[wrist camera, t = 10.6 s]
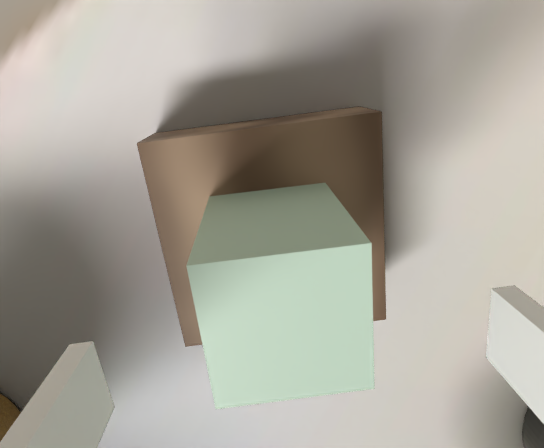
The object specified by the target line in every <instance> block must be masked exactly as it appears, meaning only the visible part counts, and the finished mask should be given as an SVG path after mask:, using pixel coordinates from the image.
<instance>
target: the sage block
mask: <svg viewBox="0 0 544 448" xmlns="http://www.w3.org/2000/svg"><path fill="white" fill-rule="evenodd" d="M186 266H187V271H188V276H189V281H190V286H191V291H192V296H193V301H194V305H195V310H196V315H197V320H198V325H199V330H200V335H201V340H202V344H203V349H204V354H205V359H206V364H207V369H208V374H209V379H210V383H211V388H212V393H213V398H214V403H215V408H216V409H222V408H230V407H238V406H245V405H253V404H261V403H269V402H276V401H284V400H292V399H299V398H307V397H315V396H323V395H330V394H338V393H346V392H353V391H361V390H369V389H374V342H373V292H372V243H371V242H370V240H369V239H368V238H367V236H366V235H365V234H364V233H363V231H362V230H361V229H360V227H359V226H358V225H357V223H356V222H355V221H354V219H353V218H352V217H351V216H350V214H349V213H348V212H347V210H346V209H345V208H344V206H343V205H342V204H341V202H340V201H339V200H338V198H337V197H336V196H335V195H334V193H333V192H332V191H331V189H330V188H329V187H328V185H327V184H326V183H318V184H309V185H301V186H293V187H284V188H276V189H268V190H259V191H251V192H243V193H234V194H226V195H218V196H209V199H208V202H207V205H206V208H205V211H204V214H203V217H202V220H201V223H200V226H199V229H198V232H197V235H196V238H195V241H194V244H193V247H192V250H191V253H190V256H189V259H188V262H187V265H186Z"/></svg>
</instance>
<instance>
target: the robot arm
mask: <svg viewBox="0 0 544 448" xmlns="http://www.w3.org/2000/svg"><path fill="white" fill-rule="evenodd" d="M486 358H487V359H488V360H489V362H490V363H491V364H492V365H493V366H494V367H495V368H496V370H497V371H498V372H499V373H500V374H501V375H502V377H503V378H504V379H505V380H506V381H507V382H508V383H509V385H510V386H511V387H512V388H513V389H514V390H515V392H516V393H517V394H518V395H519V396H520V397H521V398H522V400H523V401H524V402H525V403H526V404H527V405H528V407H529V408H528V410H527V413H526V415H525V419H524V423H523V431H522V436H523V443H524V447H525V448H544V307H542V306H541V305H540V304H538V303H537V302H536V301H534V300H533V299H532V298H530V297H529V296H528V295H526V294H525V293H524V292H523V291H521V290H520V289H519V288H517V287H516V286H515V285H514V286H507V287H499V288H492V289H491V301H490V313H489V326H488V339H487V352H486ZM113 409H114V404H113V401H112V398H111V395H110V392H109V389H108V385H107V382H106V379H105V376H104V373H103V370H102V367H101V364H100V361H99V358H98V355H97V352H96V349H95V346H94V343H93V341H90V342H82V343H75V344H69V346H68V347H67V348H66V350H65V351H64V353H63V354H62V356H61V357H60V358H59V360H58V361H57V363H56V364H55V365H54V367H53V368H52V370H51V371H50V372H49V374H48V375H47V377H46V378H45V380H44V381H43V382H42V384H41V385H40V387H39V388H38V389H37V391H36V392H35V394H34V395H33V396H32V398H31V399H30V401H29V402H28V403H27V405H26V406H25V408H24V409H23V411H22V412H21V413H20V415H19V416H18V418H17V419H16V420H15V422H14V423H13V425H12V426H11V427H10V429H9V430H8V432H7V433H6V435H5V436H4V437H3V439H2V440H1V442H0V448H97V447H98V444H99V442H100V440H101V437H102V435H103V433H104V430H105V428H106V426H107V423H108V421H109V419H110V416H111V414H112V412H113Z"/></svg>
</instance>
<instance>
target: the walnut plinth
mask: <svg viewBox="0 0 544 448" xmlns="http://www.w3.org/2000/svg"><path fill="white" fill-rule="evenodd" d="M137 146H138V151H139V155H140V159H141V163H142V167H143V171H144V176H145V180H146V184H147V188H148V192H149V196H150V201H151V205H152V209H153V213H154V217H155V222H156V226H157V230H158V234H159V238H160V242H161V247H162V251H163V255H164V259H165V263H166V267H167V272H168V276H169V280H170V284H171V288H172V293H173V297H174V301H175V305H176V309H177V313H178V318H179V322H180V326H181V330H182V334H183V338H184V343H185V347H187V346H195V345H202V340H201V335H200V330H199V325H198V320H197V315H196V310H195V305H194V301H193V296H192V291H191V286H190V281H189V276H188V271H187V266H186V265H187V262H188V259H189V256H190V253H191V250H192V247H193V244H194V241H195V238H196V235H197V232H198V229H199V226H200V223H201V220H202V217H203V214H204V211H205V208H206V205H207V202H208V199H209V196H218V195H226V194H234V193H243V192H251V191H259V190H268V189H276V188H284V187H293V186H301V185H309V184H318V183H326V184H327V185H328V187H329V188H330V189H331V191H332V192H333V193H334V195H335V196H336V197H337V198H338V200H339V201H340V202H341V204H342V205H343V206H344V208H345V209H346V210H347V212H348V213H349V214H350V216H351V217H352V218H353V219H354V221H355V222H356V223H357V225H358V226H359V227H360V229H361V230H362V231H363V233H364V234H365V235H366V236H367V238H368V239H369V240H370V242H371V243H372V292H373V321H377V320H385V319H386V295H385V247H384V198H383V149H382V111H377V110H373V109H368V108H364V107H352V108H344V109H337V110H329V111H321V112H313V113H306V114H298V115H290V116H283V117H275V118H267V119H259V120H252V121H244V122H236V123H228V124H221V125H213V126H205V127H198V128H190V129H182V130H174V131H167V132H159V133H154V134H152V135H151V136H149V137H147V138H145V139H144V140H142V141H140V142H138V143H137Z"/></svg>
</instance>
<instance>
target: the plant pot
mask: <svg viewBox="0 0 544 448" xmlns="http://www.w3.org/2000/svg"><path fill="white" fill-rule="evenodd" d="M20 413H21V412H20V411H19V410H18V408H17V407H16V406H15V405H14V404H13V403H12V402H11V401H10V400H9V399H8V398H6V397H5V396H3V395H1V394H0V442H1V440H2V439H3V437H4V436H5V435H6V433H7V432H8V430H9V429H10V427H11V426H12V425H13V423H14V422H15V420H16V419H17V418H18V416H19V415H20Z"/></svg>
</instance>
